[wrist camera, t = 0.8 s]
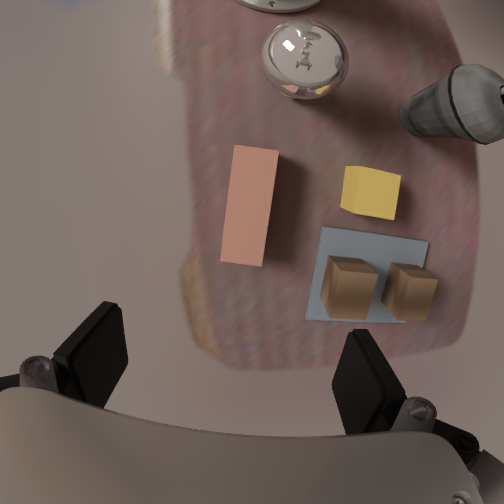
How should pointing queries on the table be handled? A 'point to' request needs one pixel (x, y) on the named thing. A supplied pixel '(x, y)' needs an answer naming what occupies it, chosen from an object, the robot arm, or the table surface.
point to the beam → (248, 205)
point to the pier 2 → (408, 292)
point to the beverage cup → (459, 106)
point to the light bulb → (304, 59)
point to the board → (372, 253)
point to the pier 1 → (347, 288)
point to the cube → (370, 192)
